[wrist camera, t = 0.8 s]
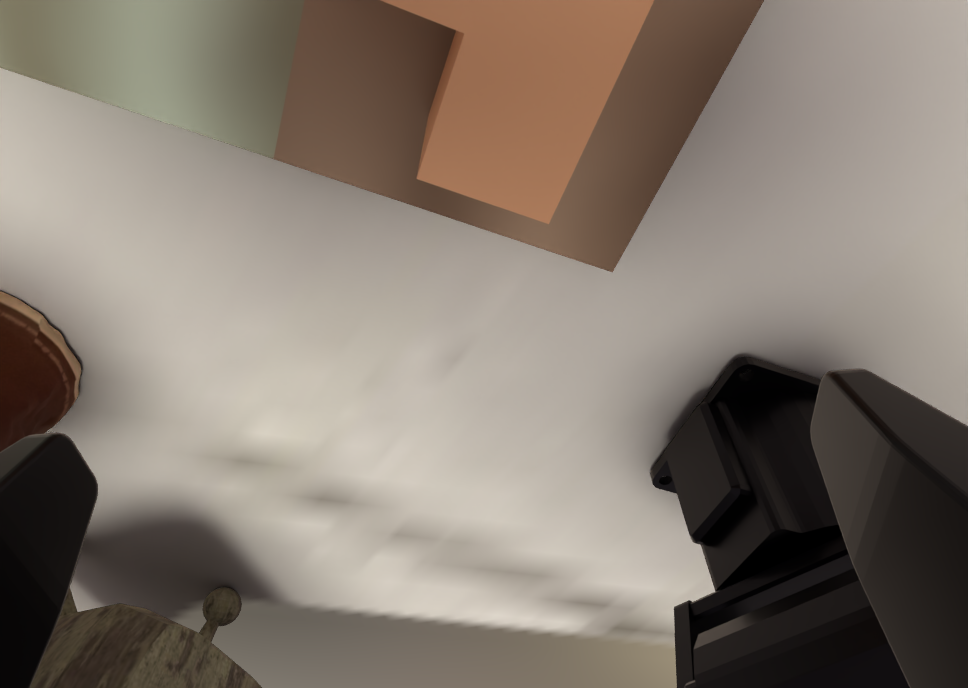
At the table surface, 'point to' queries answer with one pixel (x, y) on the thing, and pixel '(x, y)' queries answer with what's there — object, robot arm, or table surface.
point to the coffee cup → (32, 373)
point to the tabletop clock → (140, 649)
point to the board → (374, 94)
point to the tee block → (521, 94)
